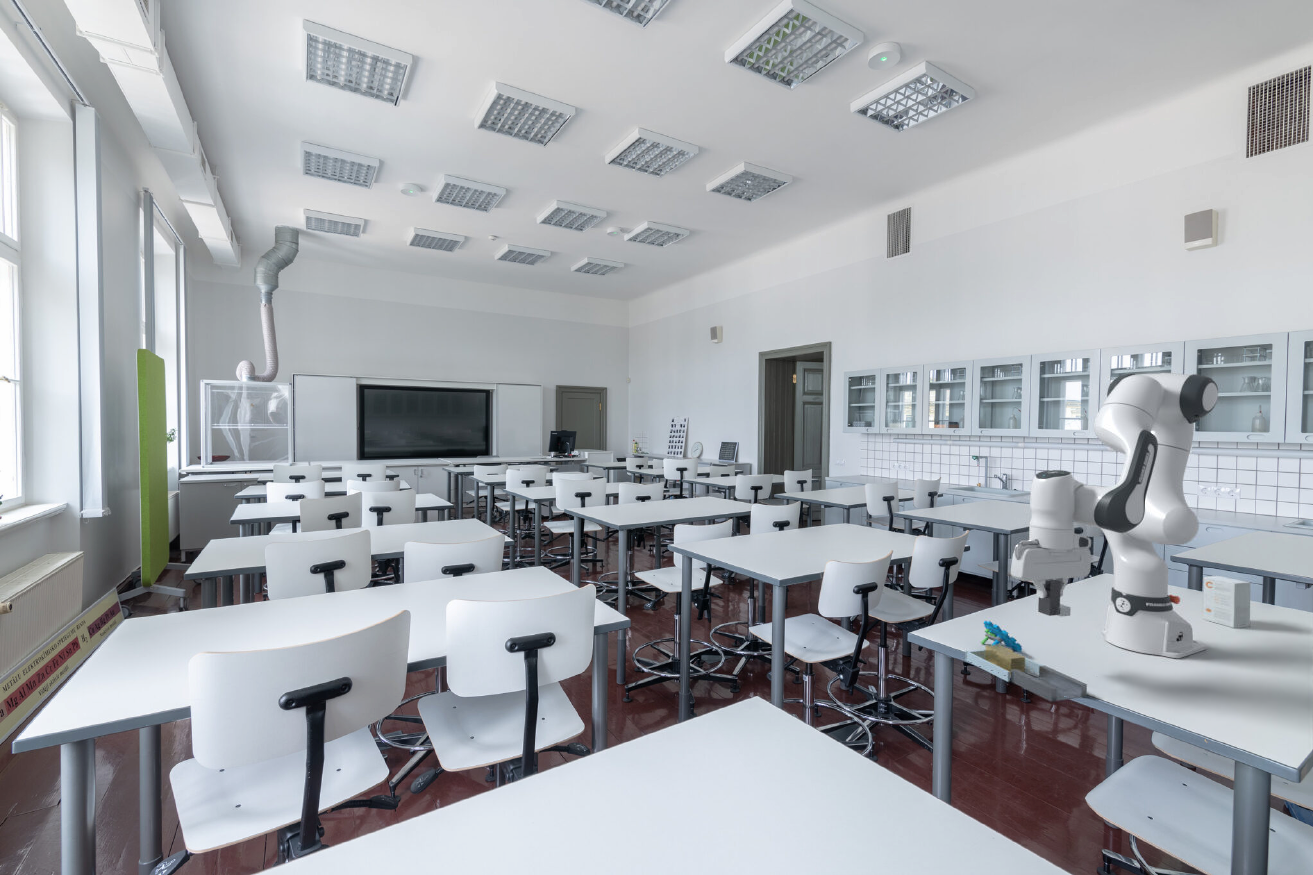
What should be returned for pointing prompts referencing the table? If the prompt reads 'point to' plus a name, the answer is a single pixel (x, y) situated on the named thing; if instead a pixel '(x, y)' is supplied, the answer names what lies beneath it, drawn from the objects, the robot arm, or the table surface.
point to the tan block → (994, 652)
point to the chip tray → (978, 660)
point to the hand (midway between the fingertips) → (1049, 596)
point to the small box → (1226, 601)
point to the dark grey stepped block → (1052, 600)
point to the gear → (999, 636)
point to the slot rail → (1050, 684)
